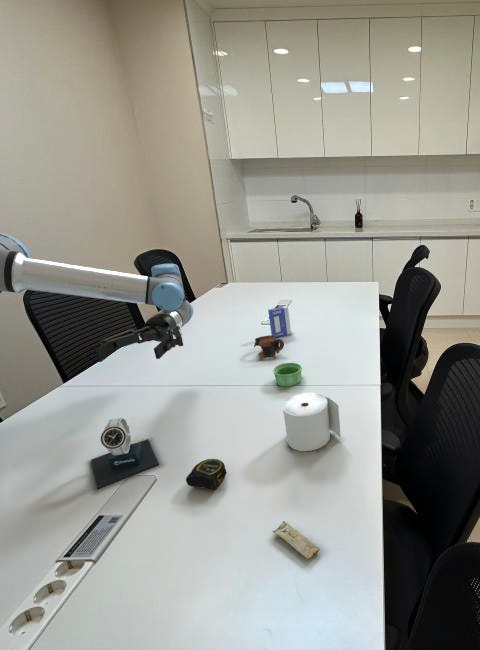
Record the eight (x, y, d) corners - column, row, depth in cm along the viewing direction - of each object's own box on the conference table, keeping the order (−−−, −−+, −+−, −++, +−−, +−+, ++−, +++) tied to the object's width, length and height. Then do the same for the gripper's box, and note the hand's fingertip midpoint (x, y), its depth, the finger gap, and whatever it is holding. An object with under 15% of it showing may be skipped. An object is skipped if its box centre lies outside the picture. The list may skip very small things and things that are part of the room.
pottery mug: (251, 361, 140) (247, 339, 141) (264, 361, 149) (260, 340, 150) (281, 354, 138) (277, 331, 138) (292, 355, 147) (288, 333, 148)
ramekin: (294, 389, 119) (292, 376, 118) (269, 385, 122) (267, 372, 120) (307, 376, 127) (306, 364, 125) (283, 372, 130) (282, 361, 128)
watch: (109, 476, 85) (93, 434, 80) (119, 453, 92) (104, 414, 87) (137, 470, 86) (123, 429, 82) (145, 448, 93) (132, 409, 89)
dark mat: (91, 460, 90) (91, 459, 90) (148, 440, 97) (147, 438, 97) (97, 489, 82) (96, 487, 82) (159, 464, 89) (158, 463, 88)
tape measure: (186, 489, 81) (182, 475, 80) (207, 468, 87) (204, 454, 86) (214, 495, 79) (210, 481, 78) (234, 473, 85) (231, 459, 84)
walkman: (274, 338, 159) (270, 310, 154) (271, 336, 161) (267, 308, 156) (291, 333, 163) (288, 306, 158) (289, 331, 165) (285, 304, 160)
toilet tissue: (282, 433, 98) (277, 399, 94) (326, 420, 103) (323, 387, 99) (294, 457, 90) (289, 420, 86) (341, 441, 95) (339, 406, 91)
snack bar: (321, 547, 67) (308, 555, 64) (319, 555, 67) (307, 563, 64) (285, 519, 72) (272, 525, 70) (283, 526, 72) (271, 533, 70)
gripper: (209, 335, 115) (183, 366, 96) (122, 339, 113) (78, 372, 94) (204, 311, 112) (177, 338, 92) (115, 315, 110) (67, 343, 91)
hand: (127, 355), depth 93 cm, fingers open, 13 cm apart
